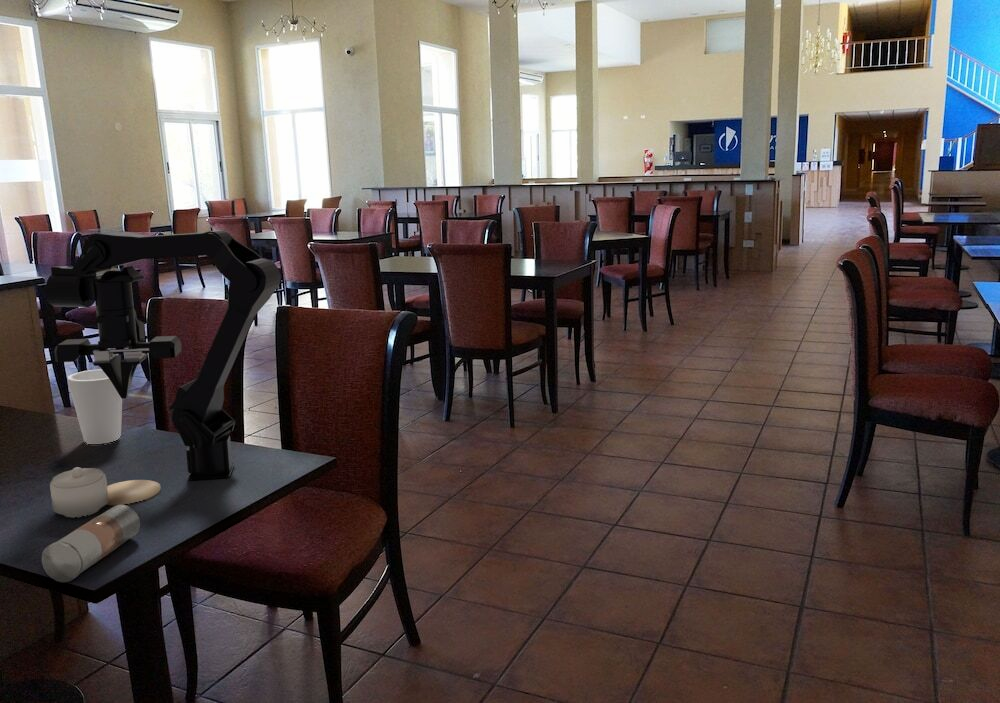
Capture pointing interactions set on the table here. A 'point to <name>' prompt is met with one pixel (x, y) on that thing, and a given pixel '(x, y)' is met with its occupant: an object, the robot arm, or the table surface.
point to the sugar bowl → (79, 492)
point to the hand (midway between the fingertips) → (124, 397)
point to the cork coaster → (131, 491)
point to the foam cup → (96, 406)
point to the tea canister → (90, 543)
